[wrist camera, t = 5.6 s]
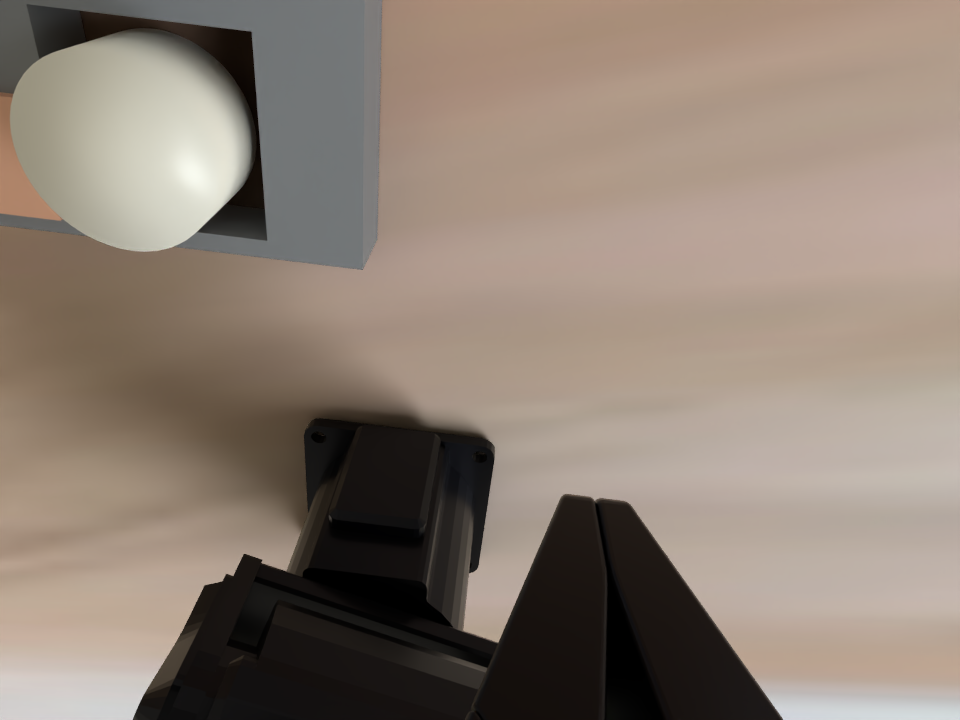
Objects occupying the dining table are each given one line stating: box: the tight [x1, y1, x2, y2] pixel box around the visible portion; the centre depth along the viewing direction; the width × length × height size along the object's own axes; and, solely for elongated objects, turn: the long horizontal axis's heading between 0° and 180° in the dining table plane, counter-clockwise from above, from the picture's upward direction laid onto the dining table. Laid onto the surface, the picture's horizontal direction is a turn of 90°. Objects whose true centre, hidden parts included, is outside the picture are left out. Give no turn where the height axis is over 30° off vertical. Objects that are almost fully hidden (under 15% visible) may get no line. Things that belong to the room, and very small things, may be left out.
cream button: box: [10, 28, 256, 252], centre depth 16 cm, size 4×4×3 cm
